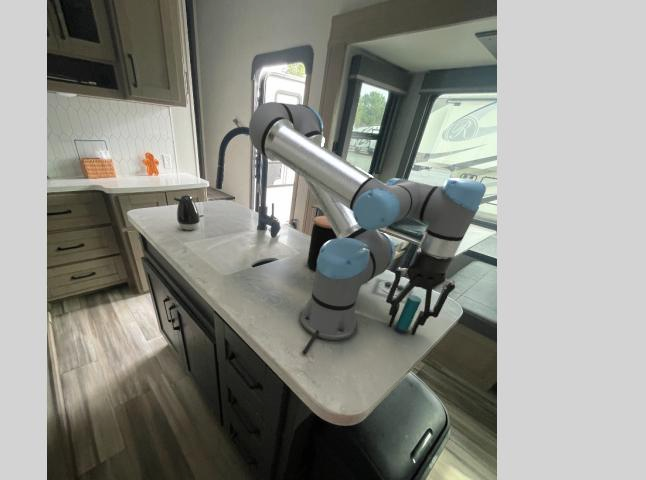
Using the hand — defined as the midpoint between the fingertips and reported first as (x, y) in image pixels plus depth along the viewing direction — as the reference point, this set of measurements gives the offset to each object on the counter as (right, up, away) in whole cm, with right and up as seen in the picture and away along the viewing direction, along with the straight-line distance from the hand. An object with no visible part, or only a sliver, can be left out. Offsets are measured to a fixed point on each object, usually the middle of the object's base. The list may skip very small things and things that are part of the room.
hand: (401, 328), depth 75 cm
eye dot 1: (+4, +13, +18) cm, 22 cm away
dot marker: (0, -1, 0) cm, 1 cm away
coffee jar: (-17, +21, +29) cm, 40 cm away
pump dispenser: (-76, +42, +53) cm, 102 cm away
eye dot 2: (+7, +11, +16) cm, 21 cm away
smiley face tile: (+5, +11, +18) cm, 22 cm away
